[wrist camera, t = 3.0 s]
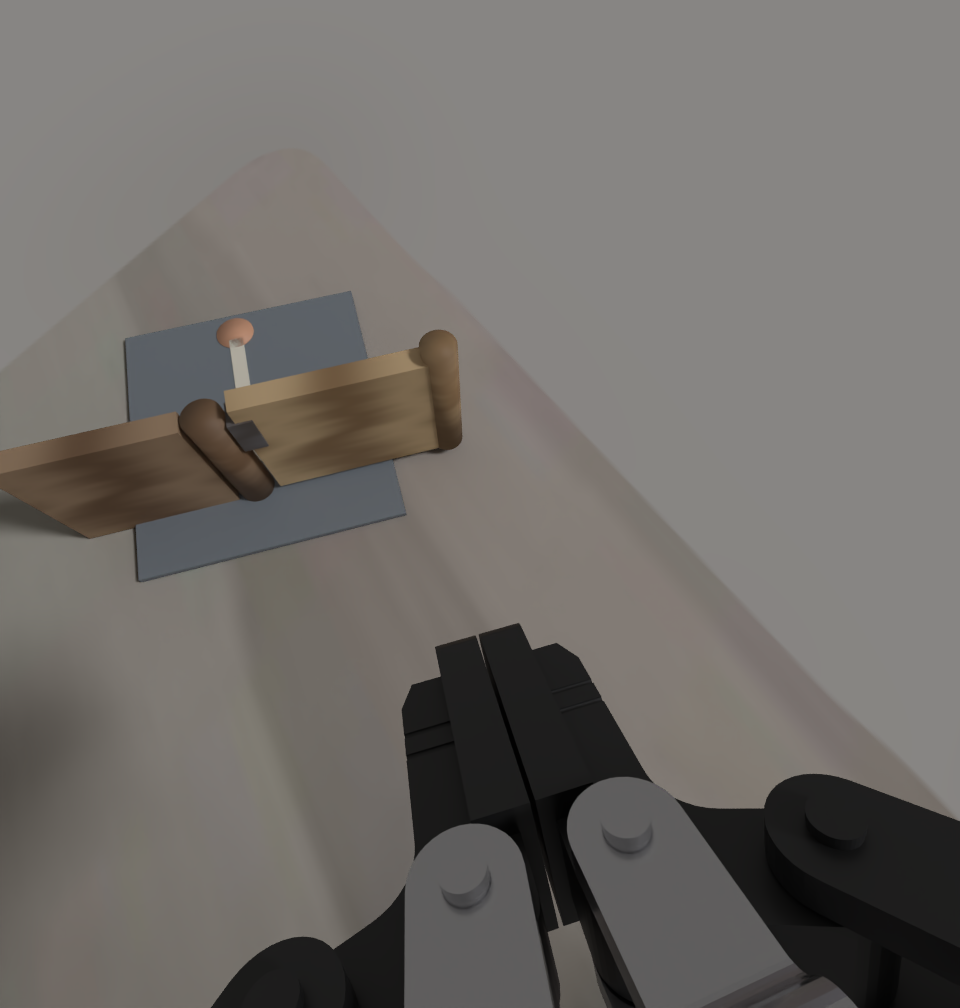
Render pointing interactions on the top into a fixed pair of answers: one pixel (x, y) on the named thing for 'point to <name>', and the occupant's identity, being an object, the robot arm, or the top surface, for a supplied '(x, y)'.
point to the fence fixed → (136, 471)
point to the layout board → (288, 509)
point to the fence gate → (352, 412)
